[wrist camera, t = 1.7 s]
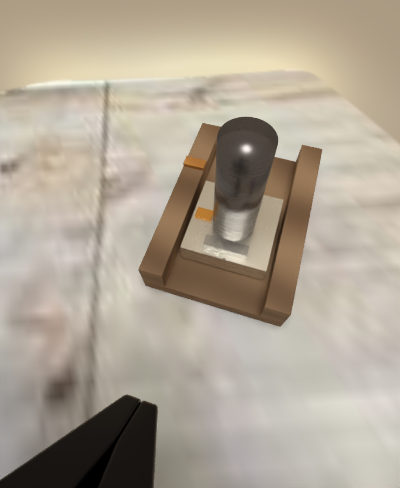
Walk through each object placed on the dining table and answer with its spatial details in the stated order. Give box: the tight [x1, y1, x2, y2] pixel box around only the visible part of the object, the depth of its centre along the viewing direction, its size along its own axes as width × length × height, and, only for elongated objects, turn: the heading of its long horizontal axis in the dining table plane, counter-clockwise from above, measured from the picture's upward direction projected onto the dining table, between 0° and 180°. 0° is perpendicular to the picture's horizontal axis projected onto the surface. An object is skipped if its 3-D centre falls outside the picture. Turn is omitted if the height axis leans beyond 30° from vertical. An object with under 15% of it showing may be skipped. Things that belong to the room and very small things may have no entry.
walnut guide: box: [138, 123, 322, 326], centre depth 25 cm, size 14×10×3 cm
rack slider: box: [180, 117, 283, 280], centre depth 20 cm, size 6×6×10 cm
